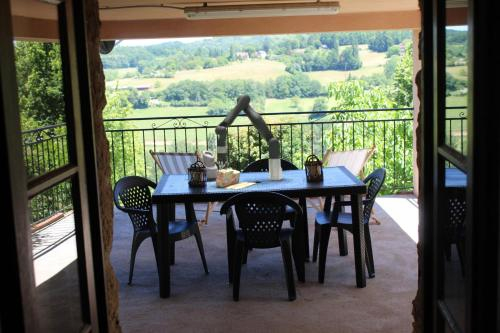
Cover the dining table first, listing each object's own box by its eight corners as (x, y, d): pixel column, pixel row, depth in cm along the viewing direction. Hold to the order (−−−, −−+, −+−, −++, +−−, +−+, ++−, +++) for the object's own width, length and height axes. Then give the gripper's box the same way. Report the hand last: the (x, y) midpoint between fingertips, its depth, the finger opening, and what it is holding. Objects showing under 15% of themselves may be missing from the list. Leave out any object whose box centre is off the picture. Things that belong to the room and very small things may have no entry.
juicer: (224, 179, 565) (223, 150, 561) (211, 182, 553) (209, 152, 549) (199, 177, 585) (197, 148, 581) (185, 180, 573) (183, 150, 569)
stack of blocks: (232, 180, 547) (235, 166, 543) (238, 183, 544) (241, 168, 540) (215, 185, 530) (217, 170, 527) (221, 187, 527) (223, 172, 523)
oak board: (256, 183, 538) (256, 182, 538) (240, 189, 516) (240, 188, 516) (240, 182, 545) (240, 182, 545) (223, 188, 523) (223, 188, 522)
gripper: (231, 151, 534) (232, 173, 536) (216, 151, 540) (217, 173, 543) (226, 153, 527) (227, 175, 530) (211, 152, 534) (212, 174, 536)
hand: (222, 174), depth 536 cm, fingers closed
